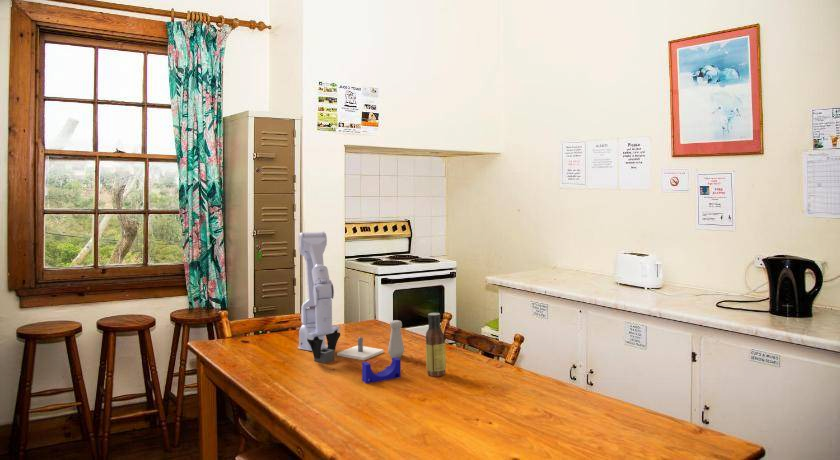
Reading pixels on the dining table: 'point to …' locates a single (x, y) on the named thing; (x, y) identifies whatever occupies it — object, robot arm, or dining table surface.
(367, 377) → the blue cradle stand
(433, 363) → the sauce bottle
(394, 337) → the salt shaker
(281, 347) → the dining table surface
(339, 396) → the dining table surface
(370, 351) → the peg base
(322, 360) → the square frame block
